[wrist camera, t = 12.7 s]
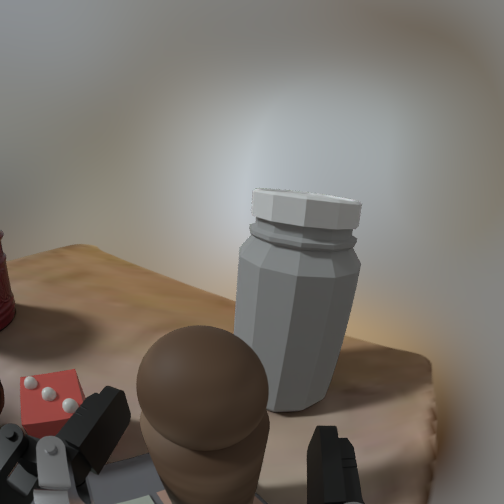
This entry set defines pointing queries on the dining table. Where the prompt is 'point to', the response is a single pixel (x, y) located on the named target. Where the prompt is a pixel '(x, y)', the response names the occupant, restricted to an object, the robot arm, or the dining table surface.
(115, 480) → the game board
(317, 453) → the robot arm
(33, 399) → the red die
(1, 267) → the canister
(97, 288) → the dining table surface
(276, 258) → the jar
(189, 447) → the walnut pawn
